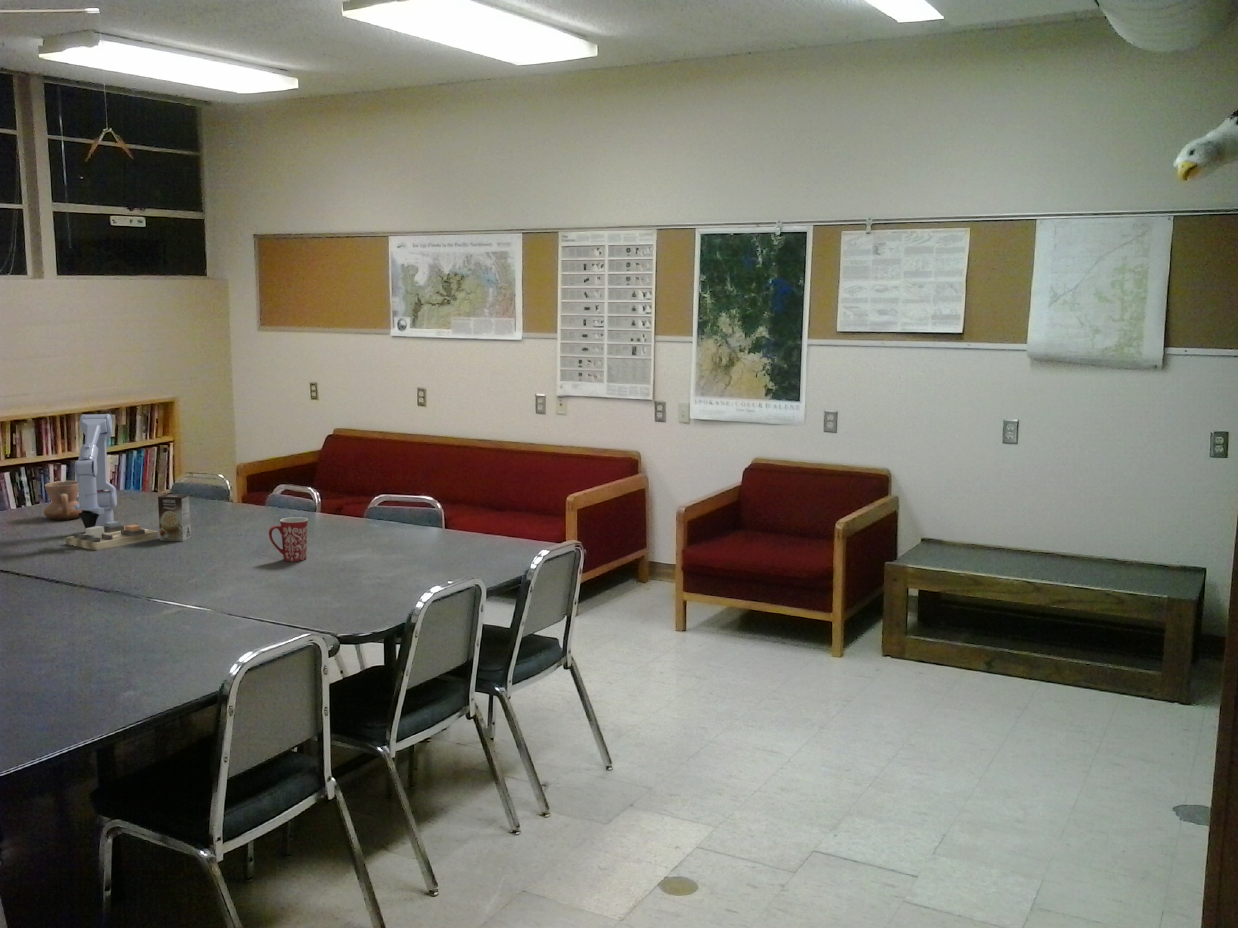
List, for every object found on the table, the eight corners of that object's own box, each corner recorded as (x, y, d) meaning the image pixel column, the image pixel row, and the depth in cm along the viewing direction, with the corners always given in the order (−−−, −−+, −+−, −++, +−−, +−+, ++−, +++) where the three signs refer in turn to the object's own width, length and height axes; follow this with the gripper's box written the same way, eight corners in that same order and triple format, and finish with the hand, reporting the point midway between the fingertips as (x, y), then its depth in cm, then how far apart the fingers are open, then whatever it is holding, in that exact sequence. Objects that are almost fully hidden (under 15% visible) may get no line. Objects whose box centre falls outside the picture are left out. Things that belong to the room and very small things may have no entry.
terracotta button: (125, 530, 387) (124, 526, 386) (134, 528, 390) (133, 524, 389) (131, 531, 385) (131, 527, 384) (140, 529, 388) (140, 525, 388)
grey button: (104, 526, 393) (104, 522, 392) (113, 524, 396) (113, 520, 396) (110, 527, 391) (110, 523, 391) (119, 526, 394) (119, 521, 394)
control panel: (66, 544, 382) (65, 533, 381) (127, 532, 402) (126, 521, 402) (97, 550, 373) (96, 539, 372) (158, 537, 393) (157, 527, 392)
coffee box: (158, 540, 388) (156, 496, 386) (168, 537, 395) (165, 493, 392) (183, 541, 387) (180, 497, 385) (192, 537, 394) (189, 494, 391)
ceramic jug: (45, 515, 432) (41, 480, 430) (85, 512, 439) (82, 478, 436) (44, 525, 416) (40, 488, 414) (86, 521, 423) (83, 485, 420)
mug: (306, 555, 367) (305, 515, 366) (311, 560, 359) (310, 520, 357) (268, 558, 362) (266, 519, 360) (272, 564, 354) (270, 524, 352)
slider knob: (86, 539, 378) (85, 528, 377) (99, 536, 382) (98, 525, 381) (91, 540, 376) (90, 529, 376) (104, 537, 380) (103, 526, 380)
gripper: (64, 493, 379) (67, 531, 381) (89, 497, 371) (92, 536, 373) (83, 490, 385) (86, 528, 387) (108, 494, 377) (111, 532, 379)
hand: (90, 532), depth 380 cm, fingers closed
